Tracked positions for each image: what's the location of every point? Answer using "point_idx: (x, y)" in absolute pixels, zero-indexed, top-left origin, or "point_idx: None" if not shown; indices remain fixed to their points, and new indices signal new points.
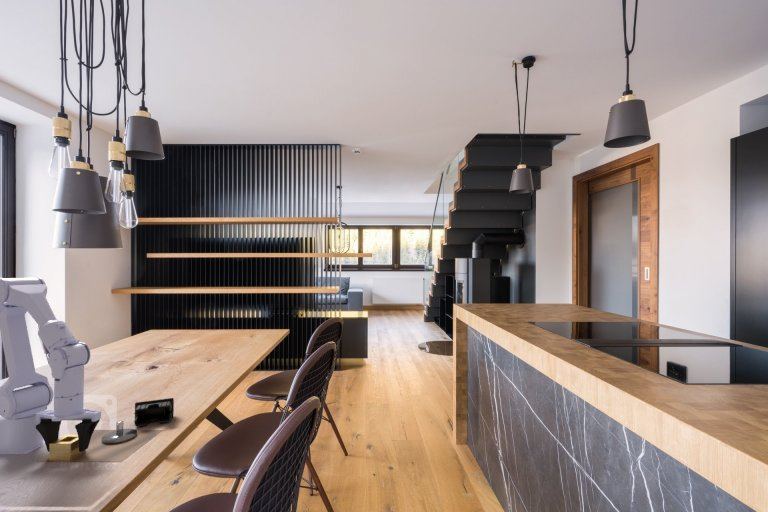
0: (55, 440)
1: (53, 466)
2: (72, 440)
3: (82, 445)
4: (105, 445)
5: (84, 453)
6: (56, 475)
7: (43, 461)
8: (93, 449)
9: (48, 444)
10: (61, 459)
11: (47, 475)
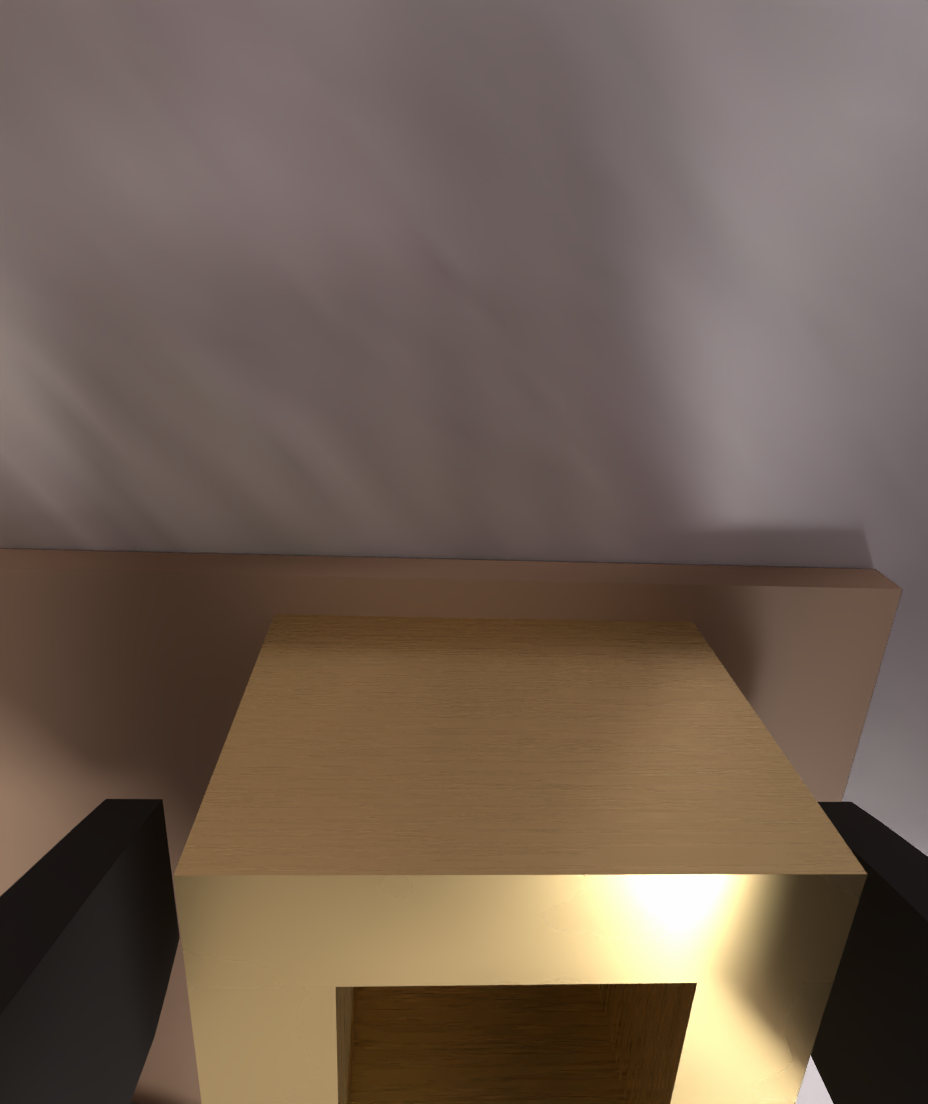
0: (868, 1073)
1: (517, 491)
2: (320, 1051)
3: (2, 907)
4: None
5: None
6: (149, 97)
7: (783, 596)
8: None
9: (924, 912)
10: (454, 629)
11: (356, 108)
